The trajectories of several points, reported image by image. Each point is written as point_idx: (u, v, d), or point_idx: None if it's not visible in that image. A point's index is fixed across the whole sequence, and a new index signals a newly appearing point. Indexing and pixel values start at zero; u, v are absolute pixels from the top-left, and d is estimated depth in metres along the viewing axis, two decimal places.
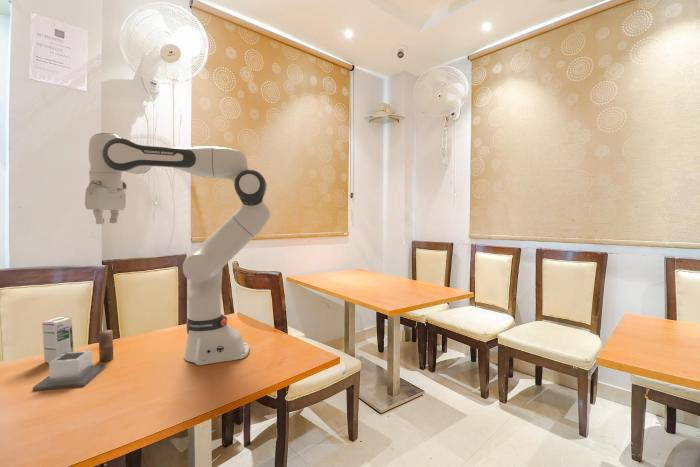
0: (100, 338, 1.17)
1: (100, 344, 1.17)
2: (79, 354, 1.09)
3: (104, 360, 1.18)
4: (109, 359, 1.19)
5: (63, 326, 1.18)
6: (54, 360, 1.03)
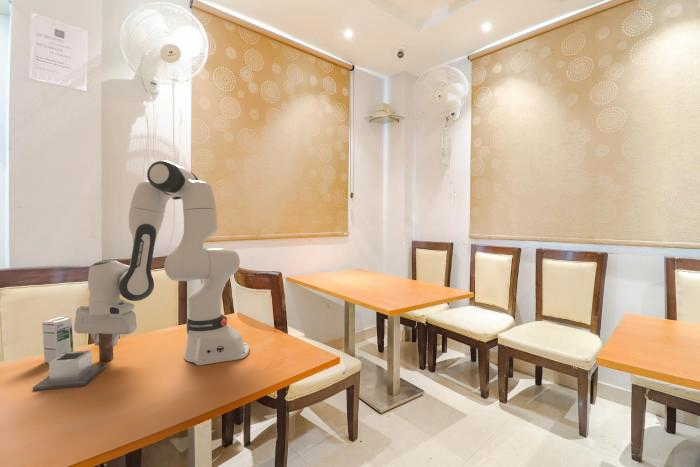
0: (100, 338, 1.17)
1: (100, 344, 1.17)
2: (79, 354, 1.09)
3: (104, 360, 1.18)
4: (109, 359, 1.19)
5: (63, 326, 1.18)
6: (54, 360, 1.03)
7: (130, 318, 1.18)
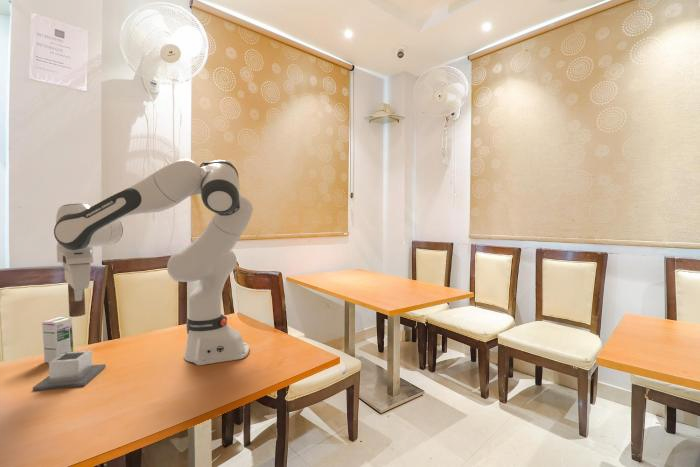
0: (68, 289, 1.06)
1: None
2: (79, 354, 1.09)
3: (70, 314, 1.06)
4: (74, 315, 1.06)
5: (63, 326, 1.18)
6: (54, 360, 1.03)
7: (78, 271, 1.00)
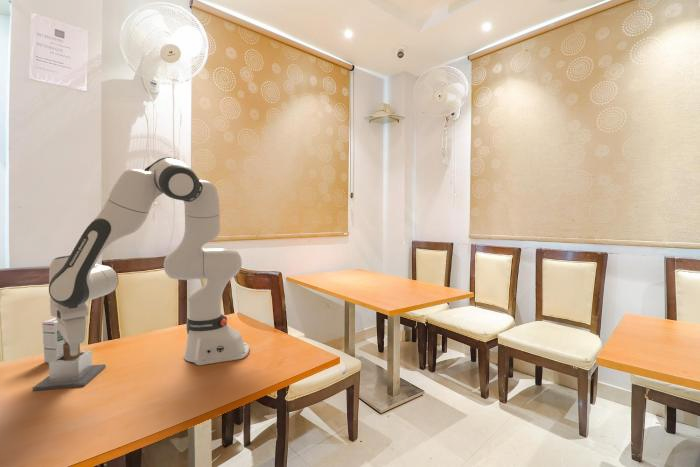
0: (63, 350, 1.04)
1: None
2: None
3: None
4: None
5: None
6: (54, 360, 1.03)
7: (73, 326, 0.98)
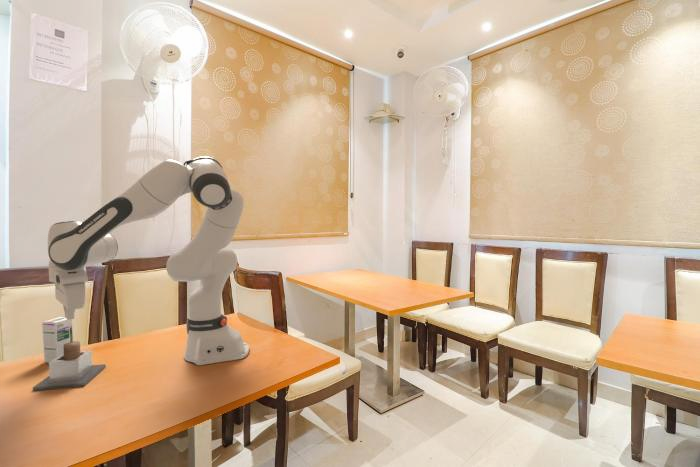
0: None
1: (64, 357, 1.04)
2: None
3: None
4: None
5: (63, 326, 1.18)
6: (54, 360, 1.03)
7: (72, 291, 0.98)
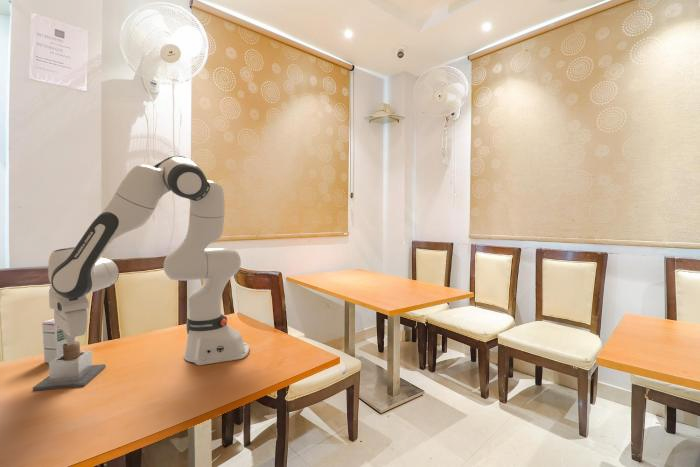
0: (63, 350, 1.04)
1: None
2: None
3: None
4: None
5: None
6: (54, 360, 1.03)
7: (74, 318, 0.98)
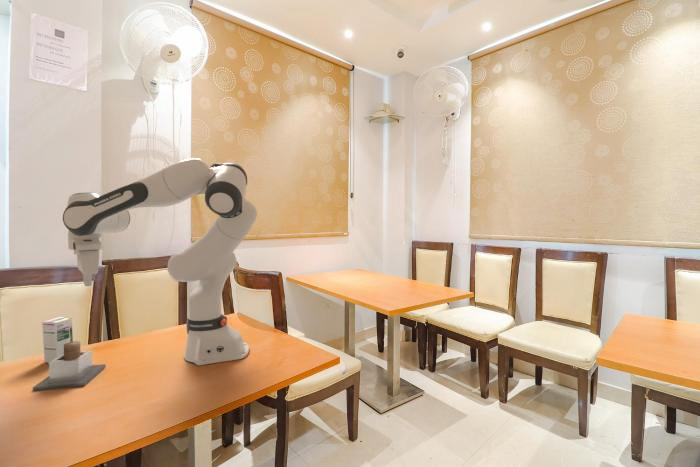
0: None
1: (64, 357, 1.04)
2: None
3: None
4: None
5: (63, 326, 1.18)
6: (54, 360, 1.03)
7: (87, 257, 1.03)
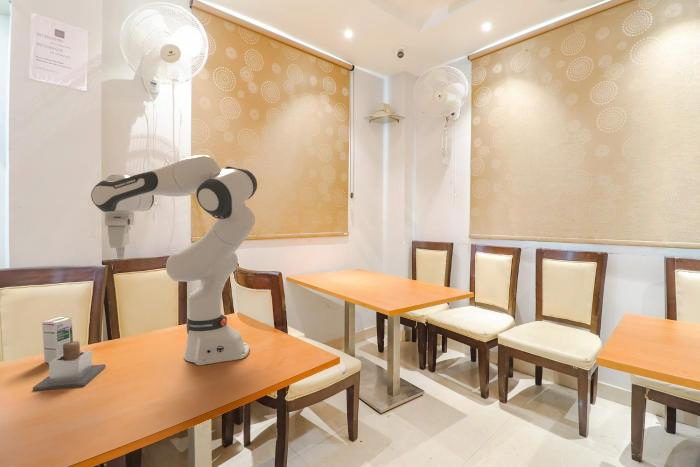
0: (63, 350, 1.04)
1: None
2: None
3: None
4: None
5: (63, 326, 1.18)
6: (54, 360, 1.03)
7: (113, 231, 1.15)
